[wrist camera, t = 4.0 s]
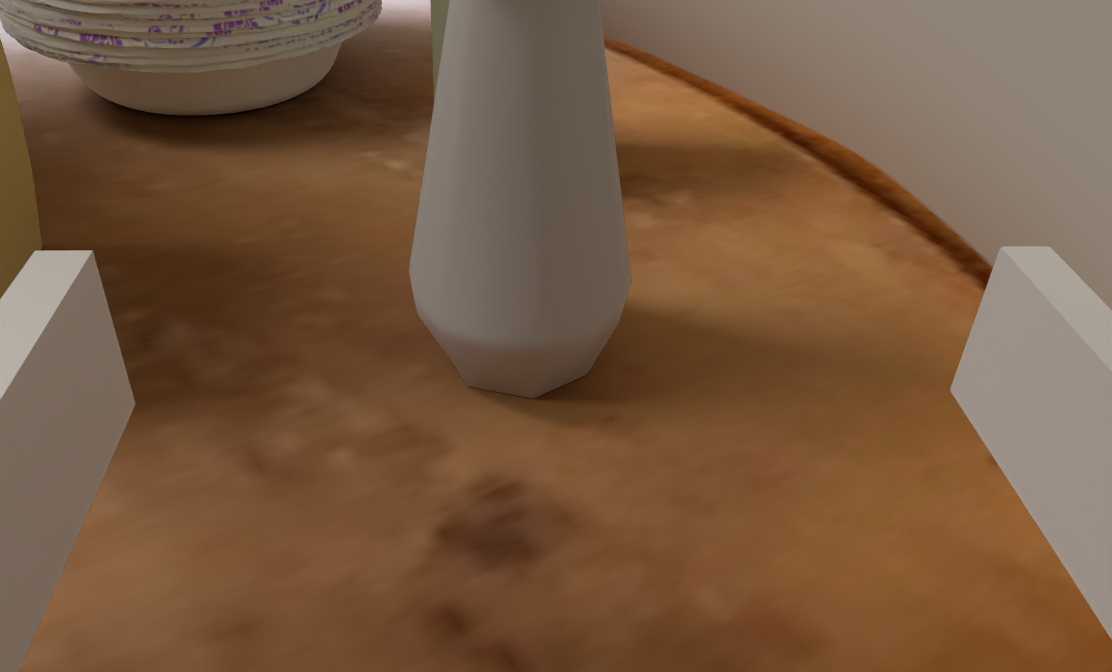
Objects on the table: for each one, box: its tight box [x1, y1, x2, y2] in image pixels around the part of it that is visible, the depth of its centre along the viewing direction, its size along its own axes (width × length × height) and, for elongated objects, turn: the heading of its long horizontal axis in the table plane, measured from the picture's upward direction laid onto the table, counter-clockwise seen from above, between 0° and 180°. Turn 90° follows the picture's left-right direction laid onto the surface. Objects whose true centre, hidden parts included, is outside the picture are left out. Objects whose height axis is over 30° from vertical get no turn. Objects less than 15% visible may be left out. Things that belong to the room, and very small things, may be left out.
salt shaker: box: [409, 0, 631, 399], centre depth 23 cm, size 6×6×13 cm
